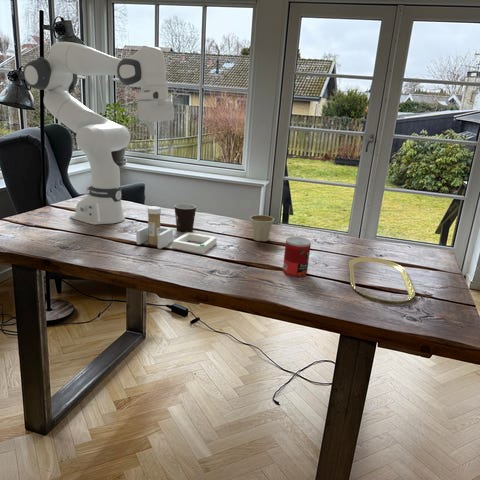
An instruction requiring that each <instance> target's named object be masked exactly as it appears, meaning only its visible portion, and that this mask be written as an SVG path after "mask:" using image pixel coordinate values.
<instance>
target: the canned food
mask: <svg viewBox="0 0 480 480" xmlns="http://www.w3.org/2000/svg"><path fill="white" fill-rule="evenodd" d="M311 243H312V242H311V241H310V240H309V239H307V238H305V237H299V236H291V237H287V238H286V239H285V244H284V245H285V246H284V255H283V256H284V257H283V265H282V270H283V273H284V275H286V276H289V277H293V278H302V277H306V275H307V273H308V267H309V260H310V252H311Z"/></svg>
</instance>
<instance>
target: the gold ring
mask: <svg viewBox="0 0 480 480" xmlns="http://www.w3.org/2000/svg"><path fill="white" fill-rule="evenodd" d="M363 262H365V263H366V262H367V263H368V262H369V263H370V262H371V263H377V264H378V263H379V264H383V265H387V266H389V267H391V268H393V269H395V270H397V271H398V272H399V273H400V276H401V278H402V281H403V283H404V286H405V288H406V291H407V294H408V297H407V298H406V299H403V300H402V299H401V300H398V299H396V300H395V299H394V300H392V299H384V298H379V297H374V296H372V295H370V294H369V295H368V294H366V293H364V292H362V291H360V290H359V289H358V288H357V286H356V281H355V280H356V279H355V272H354V271H355V270H354V266H355V264H357V263H363ZM348 267H349V268H348V269H349V278H350V279H349V280H350V285H351V287H352V288H353V290H355V292H356V293H358V294H359V295H362V296H363V297H365V298H367V299H369V300H373V301H378V302H381V303H387V304H401V303H406V302H409V301H411V300H412V299H413V298H414V297H415V295H416V291H415V289H414V286H413V284H412V282H411V280H410V278H409V275H408V273H407V271H406V269H405V267H403V265H402V266H401V265H400V264H398V263H396V262H393V261H391V260H387V259H384V258H378V257H371V256H370V257H369V256H361V257H360V256H359V257H355V258H352V259H350V260H349V262H348Z"/></svg>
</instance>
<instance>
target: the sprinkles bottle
mask: <svg viewBox="0 0 480 480" xmlns="http://www.w3.org/2000/svg"><path fill="white" fill-rule="evenodd" d="M161 212H162V210H161V207H160V206H156V205H155V206H154V205H153V206H148V207H147V217H148V218H147V226H148V235H149V236H148V238H149V240H147V242H148V244H149V245H150V246H151V245H154V246H158V234H160V227H161Z"/></svg>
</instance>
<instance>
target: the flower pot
mask: <svg viewBox="0 0 480 480" xmlns="http://www.w3.org/2000/svg"><path fill="white" fill-rule="evenodd" d="M249 219H250V222H251V229H252V231H251V232H252V239H253V240H254V241H255V242H268V241H269V240H270V239H269V238H270V233H271V229H272V226H273V223H274V221H275V218H274V217H272V216H270V215H265V214H254V215H251V216H250V217H249Z"/></svg>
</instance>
